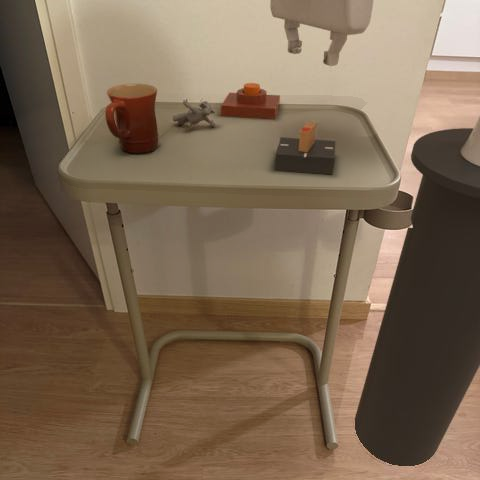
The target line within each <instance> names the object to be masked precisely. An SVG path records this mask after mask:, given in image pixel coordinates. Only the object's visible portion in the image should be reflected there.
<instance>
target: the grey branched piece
mask: <svg viewBox="0 0 480 480" xmlns="http://www.w3.org/2000/svg"><path fill="white" fill-rule="evenodd" d="M182 103H183V106H184V107H185V108H188V111H187V112H181V113H177V114H172V121H173V122H177V125H178V126H182V125H185V124H189V126H188V127H187V129H186V132H188V131H189V130H190V128H191V127H192V126H196V125H198V124H200V123H201V122H203V121H205V122H207V123H208V124H209V125H210V126H211V127H212V128H216V126H217V124H216V123H215V122H214V119H210V118H208V116H209V115H211V114H216V112H215V110H214V109H213V108H212V107H211V104H210V103H209V102H208V100H204V101H203V97H201V99H200V101H199V104H198V106H199V107H200V108H197V107H194V106H191V105H190V104H189V102H188V99H187V98H186V99H183V101H182Z"/></svg>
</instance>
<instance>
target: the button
mask: <svg viewBox="0 0 480 480" xmlns="http://www.w3.org/2000/svg"><path fill="white" fill-rule="evenodd" d="M243 88H244V93H245V94H259V93H260V89H261V84H259V83H256V82H248V83H244V84H243Z"/></svg>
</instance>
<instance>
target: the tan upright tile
mask: <svg viewBox="0 0 480 480" xmlns="http://www.w3.org/2000/svg"><path fill="white" fill-rule="evenodd" d="M316 132H317V122H316V121H307V122H306V123H305V124H304V125H303V126H302V128H301V129H300V130H299V150H298V151H301V152H308V151H309V149H310V148H311V147H312V145H313V144H314V142H315V140H316V134H317V133H316Z"/></svg>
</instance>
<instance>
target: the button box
mask: <svg viewBox="0 0 480 480" xmlns="http://www.w3.org/2000/svg"><path fill="white" fill-rule="evenodd" d="M280 105H281V95H280V94H267V90H266V89H264V88H260V93H259V94H245V93H244V87H243V88H239V89H237V91H236V92H228V94H227V96H226V97H225V98H224V100H223V102H222V103H221V104H220V113H221V114H220V115H221V117H236V118H248V119H249V118H250V119H265V120H266V119H267V120H276V116H277V114H278V111H279V108H280Z"/></svg>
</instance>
